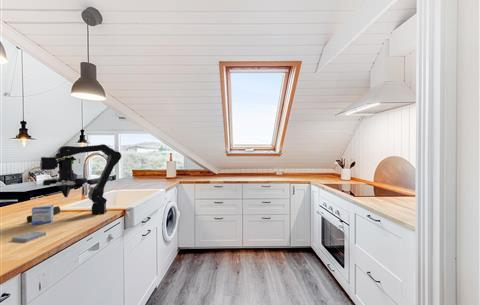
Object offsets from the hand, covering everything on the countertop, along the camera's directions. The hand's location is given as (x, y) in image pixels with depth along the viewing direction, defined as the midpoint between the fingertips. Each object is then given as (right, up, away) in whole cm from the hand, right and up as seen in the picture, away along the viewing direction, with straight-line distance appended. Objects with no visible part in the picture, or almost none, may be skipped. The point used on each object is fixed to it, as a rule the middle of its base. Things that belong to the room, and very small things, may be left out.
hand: (66, 197), depth 121 cm
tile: (+4, -12, -21) cm, 25 cm away
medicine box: (-9, -13, -4) cm, 16 cm away
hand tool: (-16, -13, +5) cm, 22 cm away
